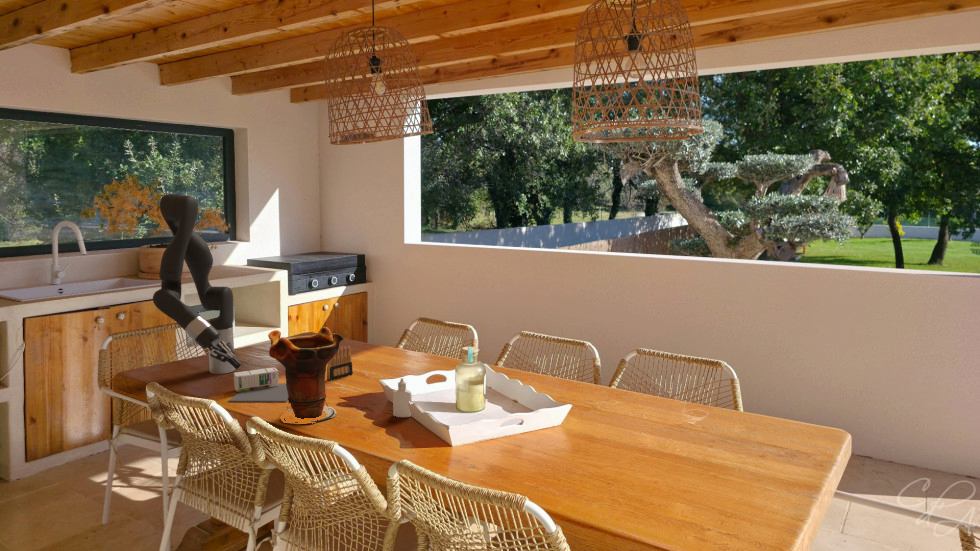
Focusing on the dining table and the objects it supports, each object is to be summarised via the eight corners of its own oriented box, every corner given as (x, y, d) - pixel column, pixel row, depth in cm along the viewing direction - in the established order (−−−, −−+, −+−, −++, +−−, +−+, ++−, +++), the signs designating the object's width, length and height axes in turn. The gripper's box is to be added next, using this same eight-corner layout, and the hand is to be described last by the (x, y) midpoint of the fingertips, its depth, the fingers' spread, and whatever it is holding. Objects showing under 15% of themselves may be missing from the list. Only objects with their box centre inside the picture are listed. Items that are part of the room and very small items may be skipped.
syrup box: (236, 376, 234) (278, 370, 241) (233, 372, 239) (275, 367, 246) (236, 392, 235) (279, 386, 242) (234, 388, 240) (276, 382, 247)
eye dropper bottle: (400, 412, 215) (399, 375, 213) (414, 415, 212) (413, 378, 210) (391, 416, 211) (390, 378, 210) (404, 419, 208) (403, 381, 207)
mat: (250, 384, 246) (250, 383, 246) (303, 384, 245) (303, 383, 245) (228, 402, 226) (228, 400, 226) (286, 402, 225) (286, 400, 225)
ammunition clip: (330, 380, 250) (329, 349, 249) (327, 380, 251) (325, 348, 250) (352, 374, 258) (351, 343, 257) (349, 373, 260) (348, 343, 258)
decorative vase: (360, 412, 213) (353, 326, 209) (293, 434, 198) (284, 342, 193) (325, 398, 228) (318, 317, 224) (261, 418, 213) (252, 331, 208)
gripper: (201, 328, 226) (239, 364, 227) (217, 320, 239) (253, 354, 241) (186, 344, 227) (224, 379, 228) (203, 335, 240) (239, 369, 241)
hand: (239, 366), depth 234 cm, fingers closed
